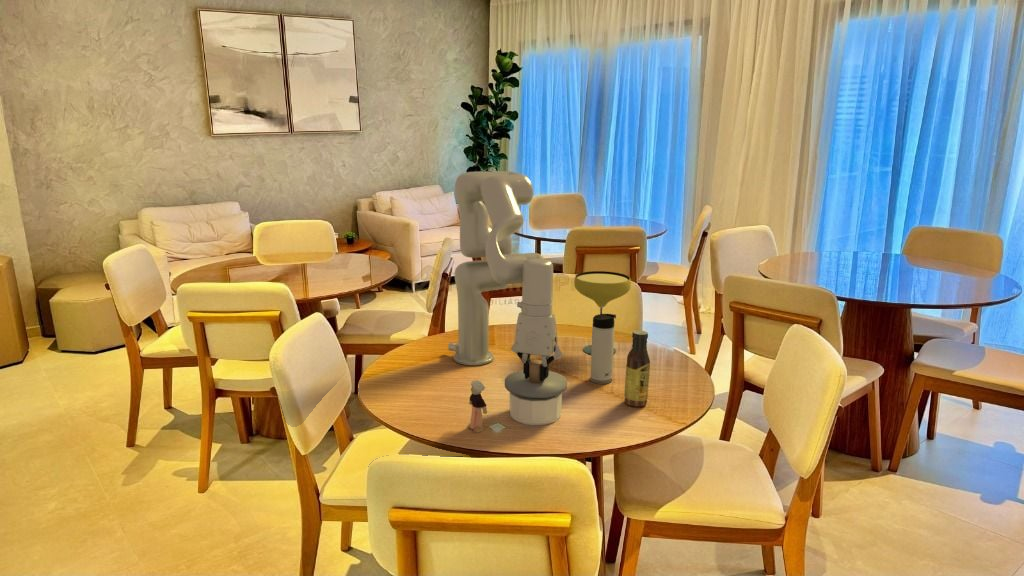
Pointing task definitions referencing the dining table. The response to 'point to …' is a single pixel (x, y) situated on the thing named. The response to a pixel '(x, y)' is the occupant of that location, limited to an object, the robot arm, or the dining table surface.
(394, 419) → the dining table surface
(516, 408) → the bowl
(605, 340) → the travel mug
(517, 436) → the dining table surface
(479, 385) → the grandmother figurine
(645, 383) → the sauce bottle
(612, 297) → the cocktail glass
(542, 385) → the lid
